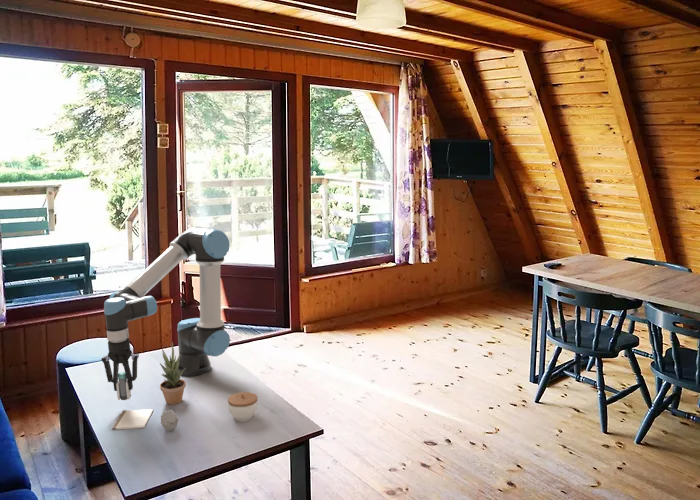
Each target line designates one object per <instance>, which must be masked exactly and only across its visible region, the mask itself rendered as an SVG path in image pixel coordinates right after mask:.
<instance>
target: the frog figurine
mask: <svg viewBox="0 0 700 500" xmlns="http://www.w3.org/2000/svg"><path fill="white" fill-rule="evenodd" d="M160 424H161V426H162V428H163V429H164V430H165V431H167V432H173V431H174V430H176V428H178V427H177V426H178V424H179V418H178V415H177V414H176V413H175V412H174V410H173V409H168V410H165V411H163V412H162V414H161V415H160Z"/></svg>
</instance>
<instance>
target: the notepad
mask: <svg viewBox="0 0 700 500" xmlns="http://www.w3.org/2000/svg"><path fill="white" fill-rule="evenodd" d="M153 412H154V409H153V408H151V409H149V408H147V409H146V408H145V409H130V410H129V409H125V410H122V412H121V413H120V414H119V416H118V418H117V420H116V421H115V423H114V424H113V426H112V427H111V429H114V430H130V429H133V428H134V429H145V427H146V426H147V424H148V422H149V420H150V418H151V416H152V414H153Z"/></svg>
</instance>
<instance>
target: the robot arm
mask: <svg viewBox="0 0 700 500" xmlns="http://www.w3.org/2000/svg"><path fill="white" fill-rule="evenodd" d="M229 250H230V239H229V237H228V236H227V234H226V233H225V232H223V230H220V229H216V228H211V227H201V226H192V227H190V228H188V229H186V230H184V231H183V232H181V233H180V234H179V235H178V236H176V237H175V238H174V239H173V240H172V241H171V242H169V247H168V248H166V250H164V251H163V252H162V253H161V254H160V255H159V256H158V257H157V258H156V259H154V261H153V262H151V263H150V264H149V265H148V266H147V267H146V268H145V269H144V270H143V271H142V272H141V273H139V274H138V275H137V276H136V277H135V278H134V279H133V280H132V281H131V282H130V283H129V284H127V286H125V287H124V288H123V289H122V290H116V291H114V292H112V293H111V294H110V296H109V298H108V299H106V300H105V301H104V303H103V313H104V317H105V327H106V338H107V347H108V353H107V355H103V356H102V358H101V359H100V360H101V361H102V363H103V365H104V371H105V373H106V374H105V375H106V378H107V382H108V383H112V384H113V390H114V392H116V395H117V400H118V401H120V400H121V396H120V387H119V379H118V374H119V367H120V366H119V364H122V367H123V368H124V372H125V374H126V378H127V382H126V392H127V400H130V399H131V398H132V392H131V391H132V390H133V388H134V385H133V381H134V382H135V381H136V380H137V377H138V359H139V356H140V354H139V353H136V354H135V353H133V351H132V350H131V345H130V344H131V342H130V335H129V326H128V325H129V322H133V321H135V320H138V319H142V318H148V317H149V316H152V315H154V314H156V313H157V311H158V303H157V300H156V299H155V297H154V296H152V295H147V296H146V294H147V293H149V292H150V291H151V290H152V289H153V288H154V287H155V286H156V285H157V284H158V283H159V282H161V281H162V280H163V279H164V278H165V277H166V276H167V275H168V274H169V273H170V272H171V271H172V270H173V269H174V268H175V267H177V265H179V263H181V262H182V261H183V260H185V261H186V260H188V258H189V257H191V256H193V255H195V262H196V263H197V264H198V265H199V317H193V318H187V319H184V320H183V319H182V320H181V321H179V322H178V323H177V330H176V332H177V340H178V342H177V343H178V356H177V358H178V357H179V361H178V362H179V367H178V370H177V372H178V371H179V370H180V372H182V371H183V370H184V369H185V368H186V369H185V370H184V371H183V373H182V375H181V376H183V377H184V376H188V377H192V376H193V377H194V376H199V375H204V374H206V373H208V372H209V371H210V370H211V367H212V366H211V365H212V364H211V361H210V358H209V356H210V357H219V356H221V355H223V354H224V353H225V352H226V350H227V349H228V348H229V345H230V342H231V337H230V333H228V331H226V329H225V322H224V321H223V320H222V319H221V318H222V316H221V315H222V313H221V312H222V311H221V306H222V305H221V304H222V303H221V300H222V299H221V296H222V295H221V293H222V292H221V290H222V287H221V284H222V283H221V281H222V280H221V264H222V263H224V261H225V256H227V254H228V252H229ZM129 359H131V360H132V362H131V365H132V367H131V368H130V364H129V363H130V362H129ZM110 361H112V364H113V365H112V366H113V373H112V368H111V362H110ZM131 371H132V372H131ZM180 372H179V373H180Z"/></svg>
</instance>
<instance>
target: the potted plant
mask: <svg viewBox="0 0 700 500" xmlns="http://www.w3.org/2000/svg"><path fill="white" fill-rule="evenodd" d="M161 351H162V353H161V354H162V358H163V361H164V362H163V363H164V365H163V364H162V363H159V365H160V367H161V369H162V370H163V372H164V373H162V374H161V376H162V377H164V378H165V379H164V380H163V381H162V382H161V383H160V384H159V389H160V391H161V392H162V395H163V397H164V400H165V403H166V404H169V405H175V404H179V403H181V402H182V401H183V396H184V391H185V389H186V381H185V380H184V379H181V376H183V375H182V373H183V371H184V370H185V369H186V368H185V369H184V370H183V371H182V372H180V370H179V371H178V372H177V370H178V367H179V362H178V361H179V357H178V356H177V355H175V349H174V343H173V341H172V342H171V355H169V358H168V356H167V354H166V352H165V350H164V349H163V348H161ZM179 372H180V373H179Z"/></svg>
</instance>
